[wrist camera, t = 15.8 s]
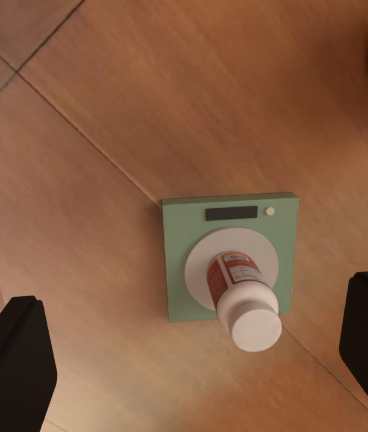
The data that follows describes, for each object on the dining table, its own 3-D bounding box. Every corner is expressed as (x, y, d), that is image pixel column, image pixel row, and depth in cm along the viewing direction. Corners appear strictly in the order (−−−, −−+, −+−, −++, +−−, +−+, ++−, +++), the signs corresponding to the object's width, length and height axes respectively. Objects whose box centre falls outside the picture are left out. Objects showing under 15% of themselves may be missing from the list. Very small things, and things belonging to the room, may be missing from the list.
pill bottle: (223, 302, 42) (246, 370, 32) (195, 268, 40) (209, 328, 30) (265, 275, 41) (302, 335, 31) (238, 239, 39) (268, 290, 29)
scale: (168, 311, 46) (169, 326, 43) (161, 199, 40) (162, 207, 37) (283, 302, 47) (291, 316, 44) (291, 191, 41) (302, 199, 38)
